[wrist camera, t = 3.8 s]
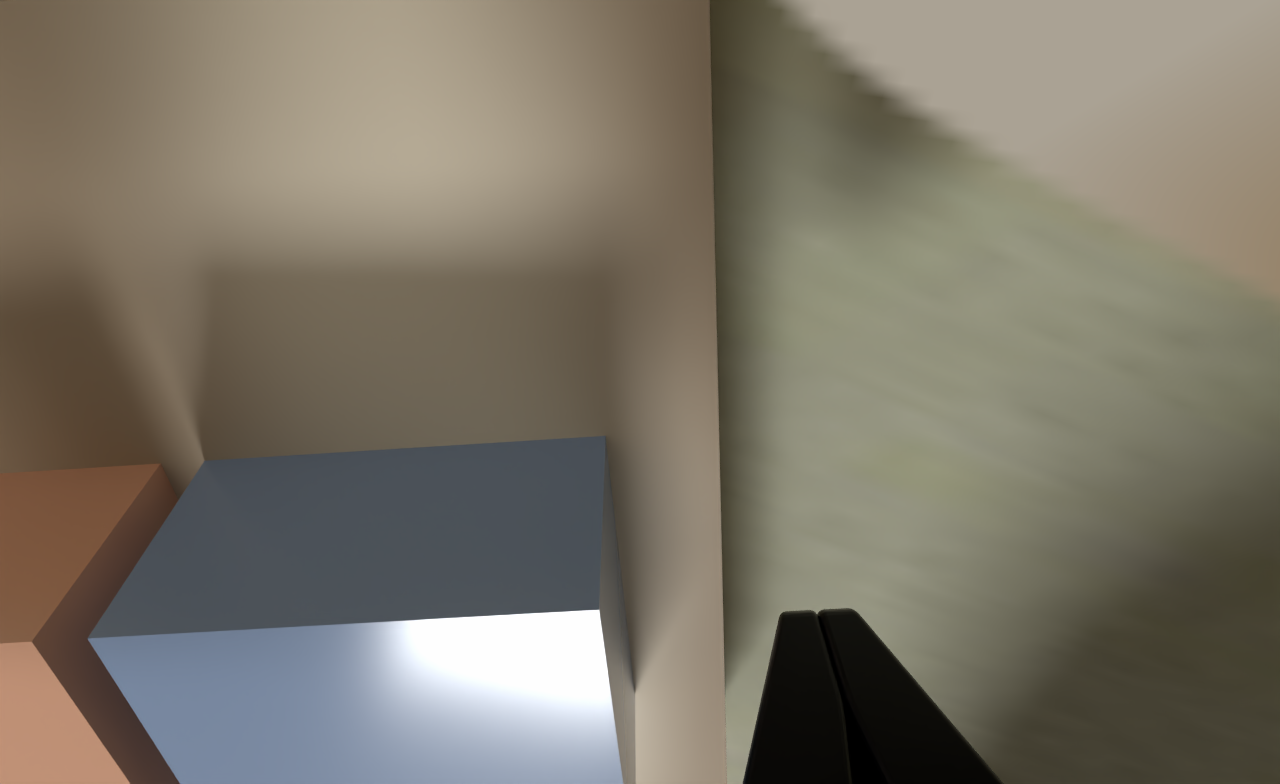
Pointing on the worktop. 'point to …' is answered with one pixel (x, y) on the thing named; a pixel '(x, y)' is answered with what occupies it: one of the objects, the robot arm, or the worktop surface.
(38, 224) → the birch board
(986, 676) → the worktop surface
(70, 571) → the terracotta tile
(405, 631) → the blue-glazed tile
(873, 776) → the robot arm
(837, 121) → the worktop surface
